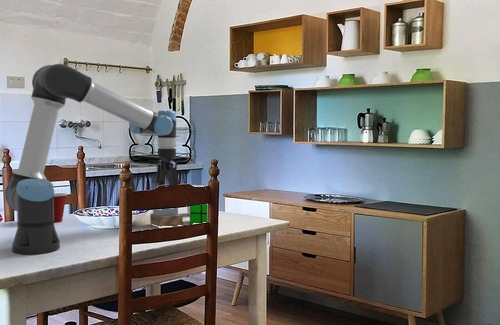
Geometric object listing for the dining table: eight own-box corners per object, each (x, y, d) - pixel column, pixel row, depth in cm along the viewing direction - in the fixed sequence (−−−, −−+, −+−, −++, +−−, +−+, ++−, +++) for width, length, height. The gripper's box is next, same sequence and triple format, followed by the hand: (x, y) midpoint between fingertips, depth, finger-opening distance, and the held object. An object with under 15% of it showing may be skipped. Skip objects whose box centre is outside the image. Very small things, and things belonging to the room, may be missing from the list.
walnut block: (160, 229, 226) (160, 217, 226) (150, 225, 235) (150, 213, 234) (182, 227, 232) (182, 215, 231) (171, 223, 240) (171, 211, 240)
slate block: (157, 216, 228) (157, 206, 228) (153, 214, 232) (153, 204, 232) (177, 214, 233) (177, 205, 233) (173, 212, 237) (173, 203, 237)
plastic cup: (57, 218, 245) (57, 191, 244) (73, 221, 238) (72, 193, 237) (35, 221, 236) (35, 193, 235) (51, 225, 230) (50, 196, 228)
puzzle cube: (216, 220, 245) (217, 198, 244) (212, 225, 235) (213, 202, 234) (194, 220, 246) (194, 197, 245) (189, 224, 236) (189, 201, 235)
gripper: (186, 149, 224) (186, 204, 226) (164, 146, 242) (163, 197, 244) (170, 149, 220) (169, 206, 222) (147, 146, 237) (147, 199, 239)
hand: (166, 201), depth 233 cm, fingers open, 8 cm apart
